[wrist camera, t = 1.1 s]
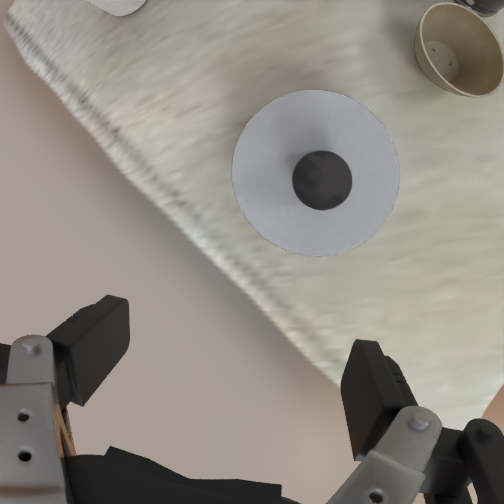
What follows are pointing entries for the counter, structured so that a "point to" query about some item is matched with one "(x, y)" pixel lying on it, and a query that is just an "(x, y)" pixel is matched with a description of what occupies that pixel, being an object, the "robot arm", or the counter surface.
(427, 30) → the flower pot
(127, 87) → the counter surface
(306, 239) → the lid
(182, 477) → the robot arm
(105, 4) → the can
